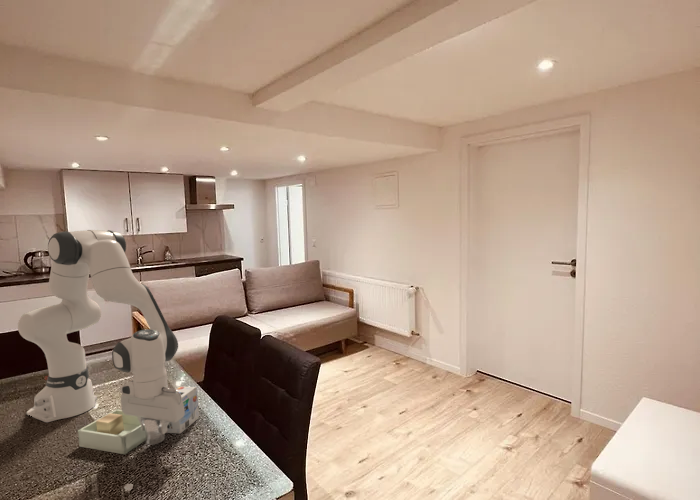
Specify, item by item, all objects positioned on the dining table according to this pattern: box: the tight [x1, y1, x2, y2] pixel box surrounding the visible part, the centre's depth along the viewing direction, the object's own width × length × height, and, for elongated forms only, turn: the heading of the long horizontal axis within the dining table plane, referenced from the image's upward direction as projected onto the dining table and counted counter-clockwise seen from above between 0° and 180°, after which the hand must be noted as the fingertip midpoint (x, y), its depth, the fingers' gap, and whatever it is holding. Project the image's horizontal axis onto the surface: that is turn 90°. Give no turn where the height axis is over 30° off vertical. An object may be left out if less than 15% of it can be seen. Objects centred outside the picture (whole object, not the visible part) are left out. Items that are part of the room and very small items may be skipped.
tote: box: [77, 408, 146, 455], centre depth 124 cm, size 18×14×5 cm
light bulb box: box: [165, 385, 200, 434], centre depth 130 cm, size 11×7×11 cm, turn 168°
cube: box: [95, 412, 124, 435], centre depth 125 cm, size 5×5×5 cm
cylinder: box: [144, 418, 166, 446], centre depth 118 cm, size 5×5×7 cm
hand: (154, 431), depth 118 cm, fingers closed on cylinder, 5 cm apart
